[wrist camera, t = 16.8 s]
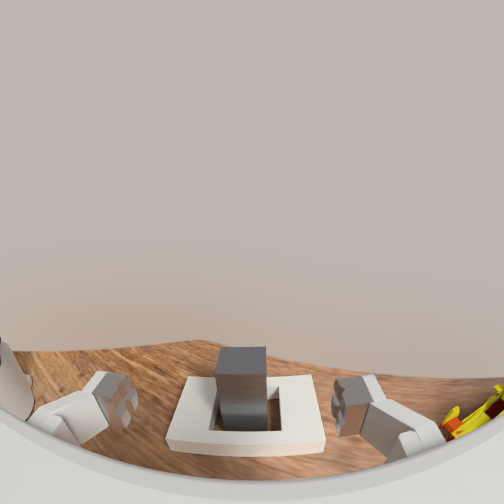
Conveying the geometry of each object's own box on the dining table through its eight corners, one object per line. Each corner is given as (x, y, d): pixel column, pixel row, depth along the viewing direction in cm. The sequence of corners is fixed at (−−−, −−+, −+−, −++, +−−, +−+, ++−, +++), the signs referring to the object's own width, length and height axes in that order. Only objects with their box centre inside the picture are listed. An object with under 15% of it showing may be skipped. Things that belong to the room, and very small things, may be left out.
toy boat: (423, 447, 20) (455, 385, 17) (507, 394, 21) (532, 336, 19) (446, 482, 13) (492, 423, 11) (529, 415, 15) (561, 356, 12)
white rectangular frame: (170, 450, 24) (165, 438, 23) (191, 388, 35) (188, 376, 35) (322, 452, 23) (325, 440, 22) (309, 387, 35) (311, 374, 34)
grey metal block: (225, 434, 27) (214, 373, 25) (229, 407, 32) (221, 347, 29) (267, 435, 27) (266, 373, 24) (267, 407, 31) (265, 346, 29)
